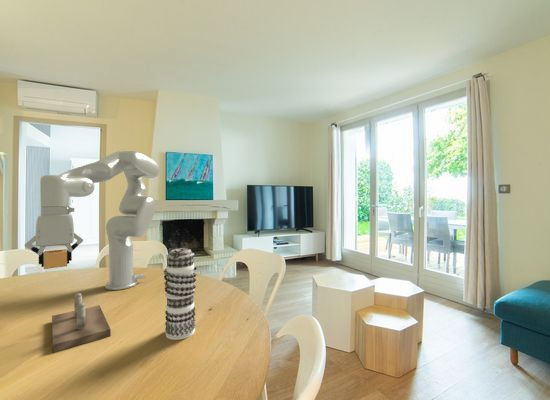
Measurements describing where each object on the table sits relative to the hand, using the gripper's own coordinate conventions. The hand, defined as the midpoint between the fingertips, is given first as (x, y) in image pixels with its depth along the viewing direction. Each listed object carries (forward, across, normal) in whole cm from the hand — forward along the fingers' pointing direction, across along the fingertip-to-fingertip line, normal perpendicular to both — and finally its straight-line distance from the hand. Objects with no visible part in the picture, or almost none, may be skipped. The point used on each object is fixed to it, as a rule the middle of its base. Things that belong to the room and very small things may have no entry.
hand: (55, 264), depth 91 cm
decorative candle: (+18, -29, +38) cm, 51 cm away
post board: (+18, -6, +16) cm, 25 cm away
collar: (+1, 0, 0) cm, 1 cm away
